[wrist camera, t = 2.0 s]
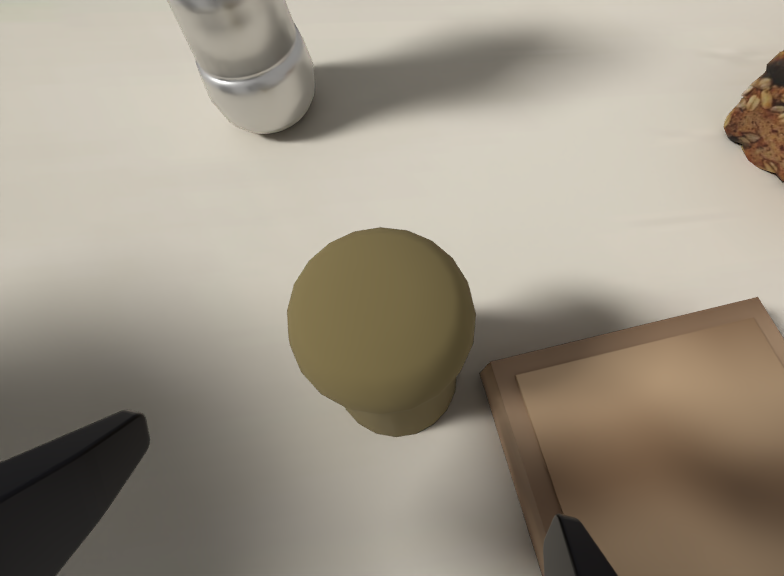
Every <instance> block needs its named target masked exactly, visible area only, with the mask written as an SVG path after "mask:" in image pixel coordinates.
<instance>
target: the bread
mask: <svg viewBox="0 0 784 576" xmlns="http://www.w3.org/2000/svg"><path fill="white" fill-rule="evenodd" d="M742 96H743V98H742V99H741V101H740V102H739V104H738V105H737V106H736V107H735V108H734V109H733V110H732V111H731V112H730V113H729V115H728V116H727V118H726V119H725V123H724V129H725V132H726V134H727V136H728V138H730V139H731V140H732V141H735V142H738V143H740V144H742V146H741V148H742V150H743V151H744V153H745V155H746V157H747V159H748V160H749V161H750V162H751V163H753V164H754V165H755V166H757V167H758V168H760V169H763V170H766V171H770V172H773V173H776V175H777V176H778V177H779V178H780V179H781V180H782V181H784V51H782V52H780V53H779V54H777V55H776V56H775V57H774V58H773V59H772V60H771V61H770V62H769V63H768V64H767V68H766V72H765V73H764V74H763V75H762V76H760V77H759V78H758V79H757V80H756V81H754V82H753V83H752V84H751V85H750V86H749V87H748V88H747V89H746V91H745V92H744V93H743V94H742Z"/></svg>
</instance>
